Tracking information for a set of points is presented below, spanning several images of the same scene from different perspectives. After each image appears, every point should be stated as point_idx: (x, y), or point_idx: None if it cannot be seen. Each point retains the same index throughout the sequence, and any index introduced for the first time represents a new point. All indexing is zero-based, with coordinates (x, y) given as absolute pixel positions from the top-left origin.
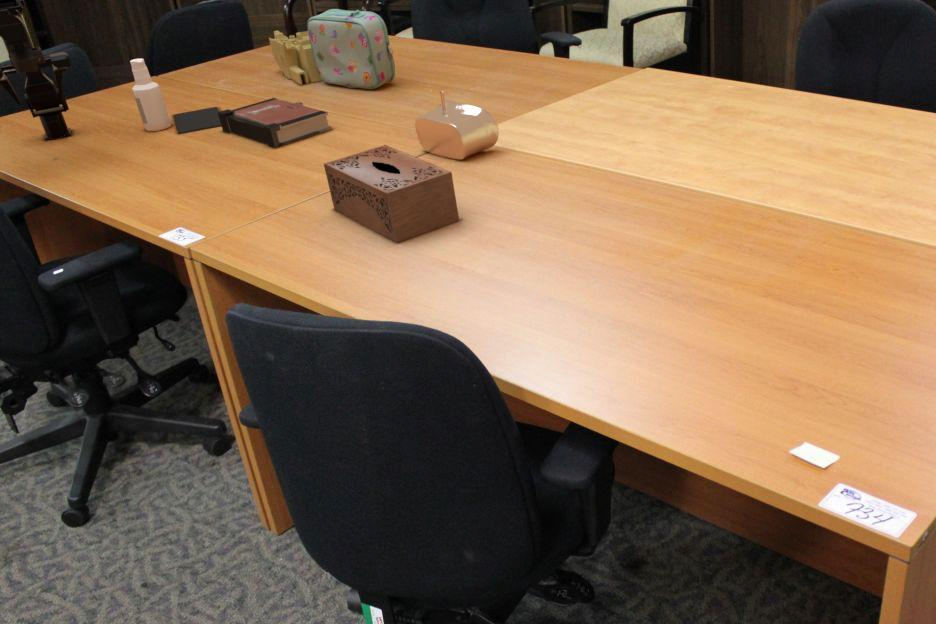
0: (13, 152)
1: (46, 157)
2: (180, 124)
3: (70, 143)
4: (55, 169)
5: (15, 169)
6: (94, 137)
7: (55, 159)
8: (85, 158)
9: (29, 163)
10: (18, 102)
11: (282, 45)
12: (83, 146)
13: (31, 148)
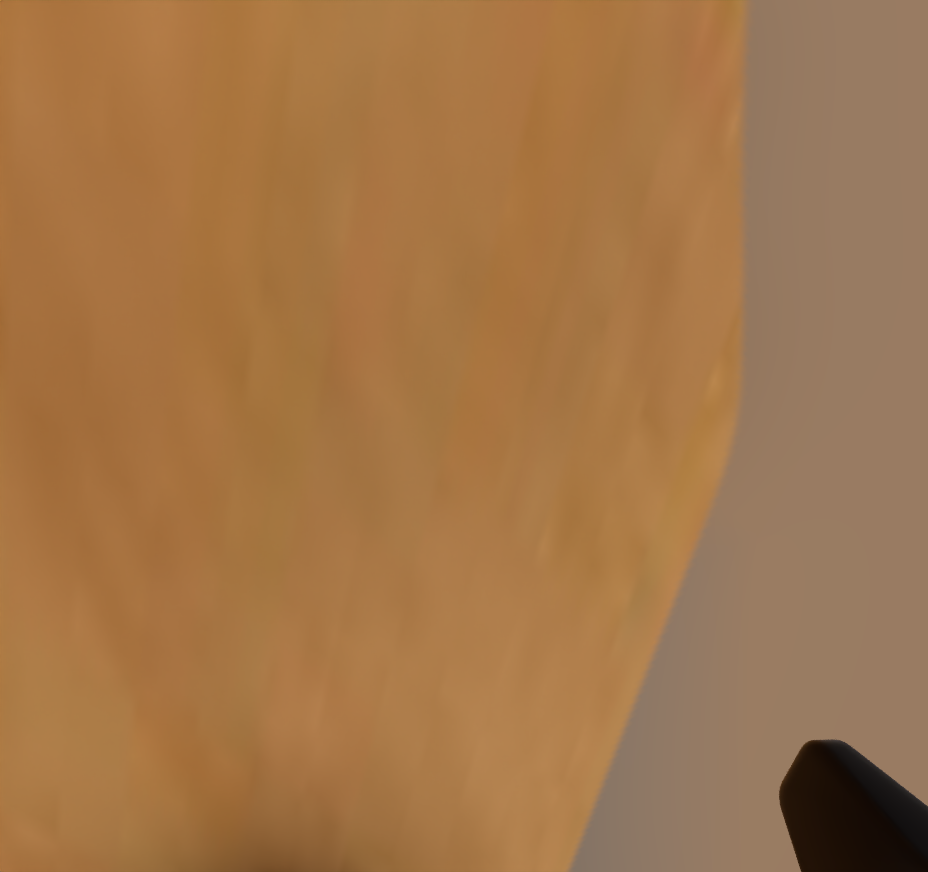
0: (575, 795)
1: (433, 550)
2: None
3: (207, 759)
4: (459, 112)
5: (703, 418)
6: (9, 789)
7: (386, 444)
8: (129, 249)
9: (577, 493)
10: (906, 816)
11: None
12: (115, 629)
13: (464, 806)
